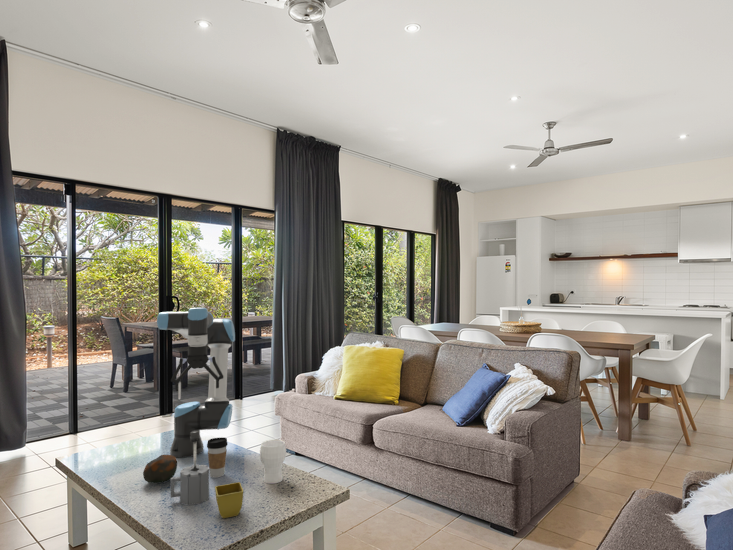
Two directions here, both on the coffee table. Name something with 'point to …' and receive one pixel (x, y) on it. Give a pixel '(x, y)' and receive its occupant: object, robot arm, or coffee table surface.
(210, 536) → the coffee table surface
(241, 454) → the coffee table surface
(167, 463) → the rock
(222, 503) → the flower pot
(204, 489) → the press carafe
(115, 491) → the coffee table surface
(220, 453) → the coffee cup
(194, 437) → the plunger
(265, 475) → the cup
